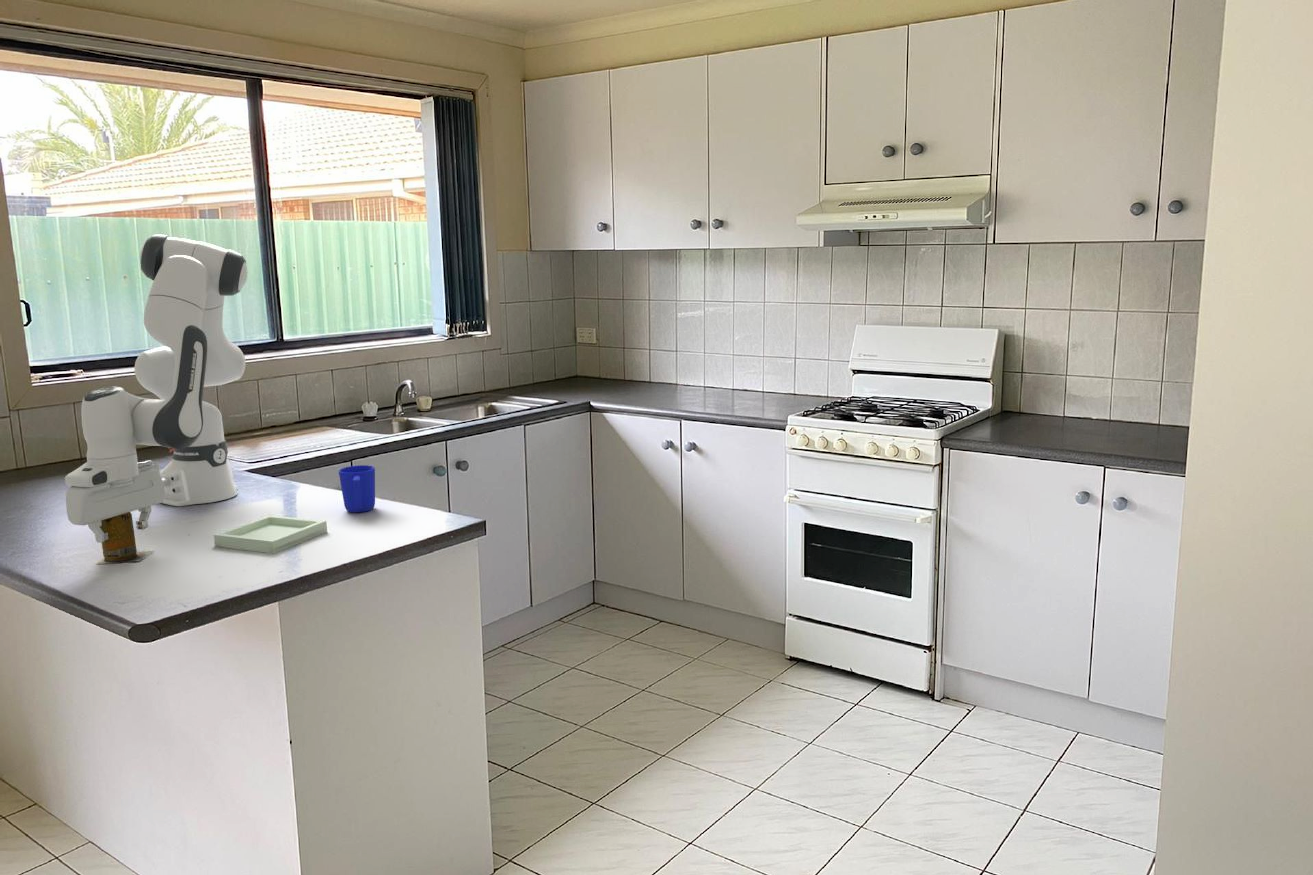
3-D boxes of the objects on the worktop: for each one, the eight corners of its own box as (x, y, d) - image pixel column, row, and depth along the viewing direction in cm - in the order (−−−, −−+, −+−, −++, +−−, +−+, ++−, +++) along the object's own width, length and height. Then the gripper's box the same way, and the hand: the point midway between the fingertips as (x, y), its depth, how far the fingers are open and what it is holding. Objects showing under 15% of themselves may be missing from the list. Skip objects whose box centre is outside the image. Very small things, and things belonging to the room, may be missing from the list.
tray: (215, 546, 210) (213, 534, 210) (270, 525, 225) (269, 515, 224) (273, 553, 204) (272, 541, 203) (327, 531, 218) (326, 520, 218)
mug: (341, 520, 228) (337, 477, 226) (342, 507, 239) (339, 466, 237) (378, 516, 230) (374, 474, 228) (378, 504, 241) (374, 463, 239)
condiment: (111, 554, 207) (103, 498, 205) (153, 551, 208) (146, 495, 205) (95, 565, 200) (86, 507, 198) (139, 562, 201) (131, 504, 198)
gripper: (146, 457, 211) (154, 520, 213) (56, 479, 192) (66, 547, 195) (168, 458, 208) (176, 522, 211) (79, 481, 190) (89, 550, 193)
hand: (123, 535), depth 203 cm, fingers open, 8 cm apart
